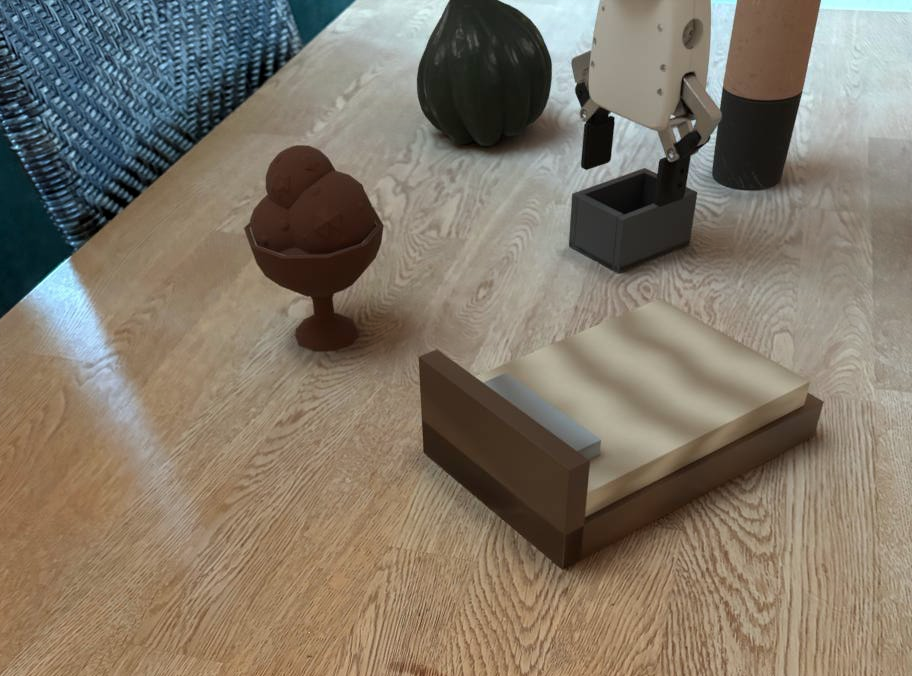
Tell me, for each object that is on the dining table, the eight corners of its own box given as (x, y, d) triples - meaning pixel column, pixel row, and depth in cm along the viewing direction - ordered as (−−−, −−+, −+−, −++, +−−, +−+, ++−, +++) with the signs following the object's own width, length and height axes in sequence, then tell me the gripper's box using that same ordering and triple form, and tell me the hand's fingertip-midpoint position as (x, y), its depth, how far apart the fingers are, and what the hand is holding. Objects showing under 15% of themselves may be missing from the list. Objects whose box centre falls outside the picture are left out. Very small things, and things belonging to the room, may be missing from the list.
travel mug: (707, 160, 109) (741, -61, 95) (780, 161, 108) (826, -62, 94) (710, 190, 104) (747, -39, 90) (787, 192, 103) (837, -39, 89)
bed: (662, 345, 84) (675, 252, 78) (814, 436, 75) (842, 338, 69) (423, 452, 75) (418, 356, 70) (562, 569, 66) (570, 470, 60)
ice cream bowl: (242, 358, 85) (206, 176, 74) (298, 294, 92) (273, 120, 81) (358, 378, 82) (339, 192, 72) (407, 311, 90) (396, 132, 79)
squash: (594, 90, 110) (537, -50, 107) (482, 130, 105) (419, -16, 102) (532, 149, 123) (480, 26, 120) (430, 187, 118) (374, 60, 115)
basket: (638, 219, 100) (644, 167, 97) (689, 244, 96) (698, 191, 93) (568, 246, 97) (571, 193, 93) (618, 273, 93) (623, 219, 89)
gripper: (774, -21, 76) (730, 205, 89) (619, -67, 86) (599, 143, 99) (702, -2, 74) (667, 229, 86) (550, -52, 83) (538, 162, 96)
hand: (631, 183), depth 92 cm, fingers open, 9 cm apart
